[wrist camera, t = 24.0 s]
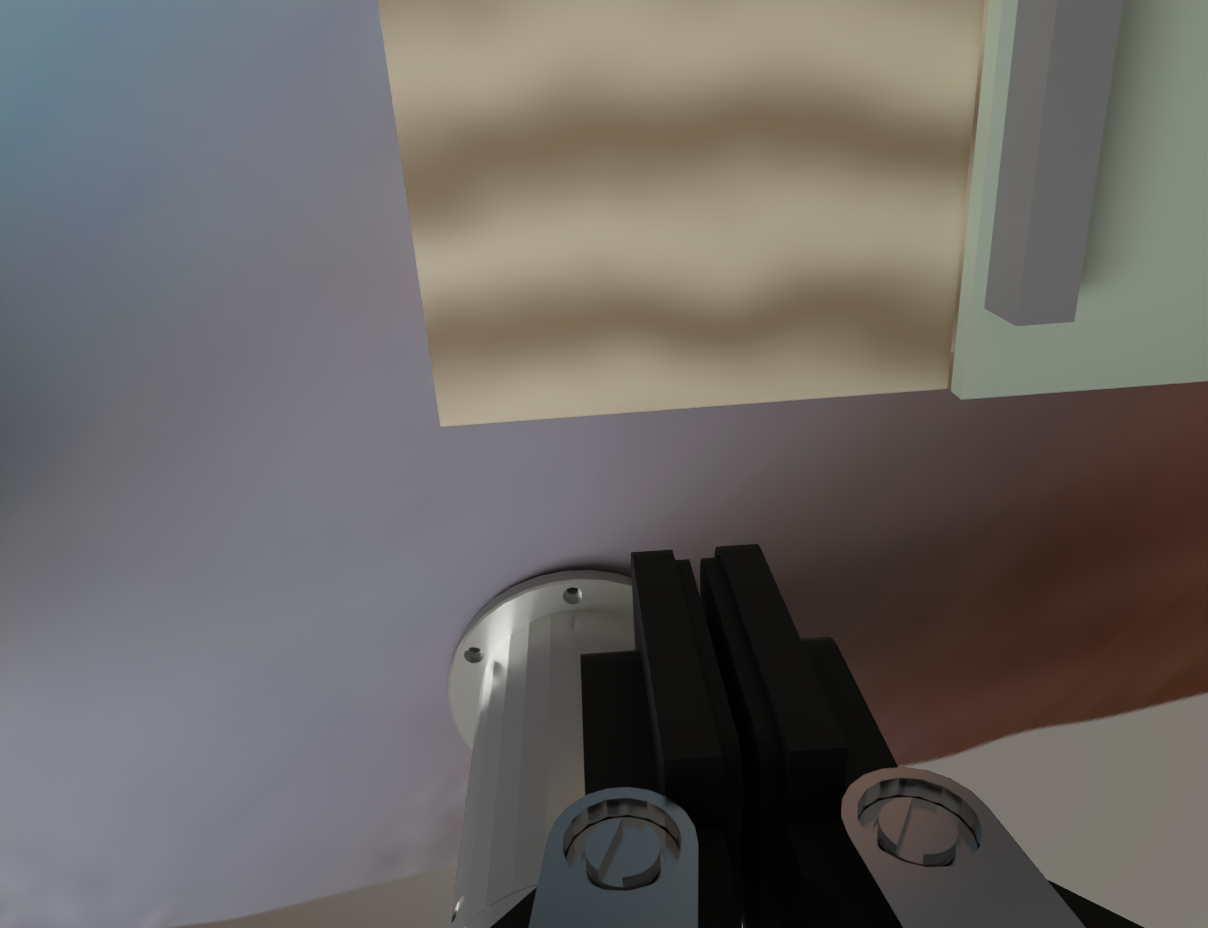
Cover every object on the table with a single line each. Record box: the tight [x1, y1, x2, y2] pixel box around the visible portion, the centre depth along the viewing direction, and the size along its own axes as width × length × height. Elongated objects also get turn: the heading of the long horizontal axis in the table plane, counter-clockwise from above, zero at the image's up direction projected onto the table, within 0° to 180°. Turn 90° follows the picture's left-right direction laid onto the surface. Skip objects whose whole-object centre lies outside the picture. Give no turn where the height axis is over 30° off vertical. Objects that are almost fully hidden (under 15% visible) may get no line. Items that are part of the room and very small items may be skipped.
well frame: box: [378, 0, 989, 427], centre depth 32 cm, size 19×39×2 cm, turn 94°
